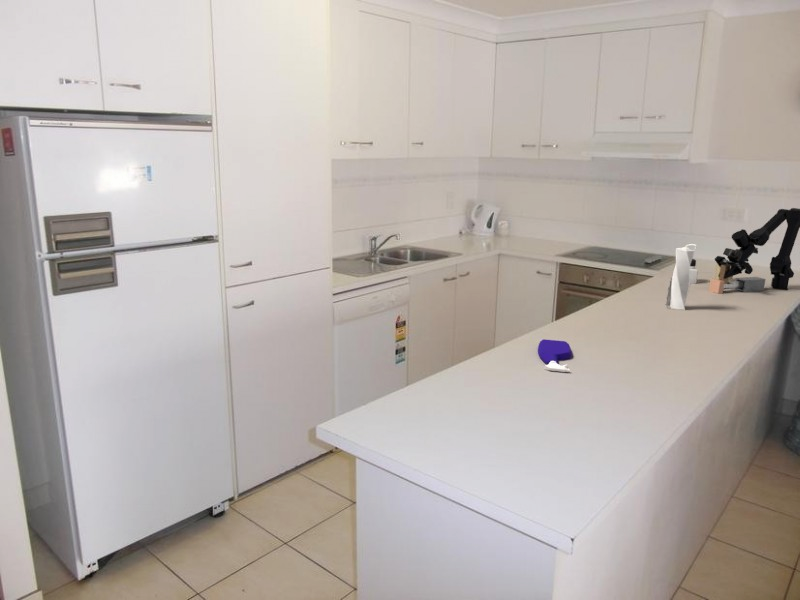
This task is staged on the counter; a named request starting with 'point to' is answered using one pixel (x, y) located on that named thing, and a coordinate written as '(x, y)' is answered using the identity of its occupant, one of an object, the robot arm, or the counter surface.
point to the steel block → (752, 284)
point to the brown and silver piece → (727, 285)
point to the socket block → (716, 286)
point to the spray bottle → (554, 354)
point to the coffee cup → (719, 271)
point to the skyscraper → (680, 279)
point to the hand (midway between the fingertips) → (721, 277)
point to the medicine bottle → (693, 272)
